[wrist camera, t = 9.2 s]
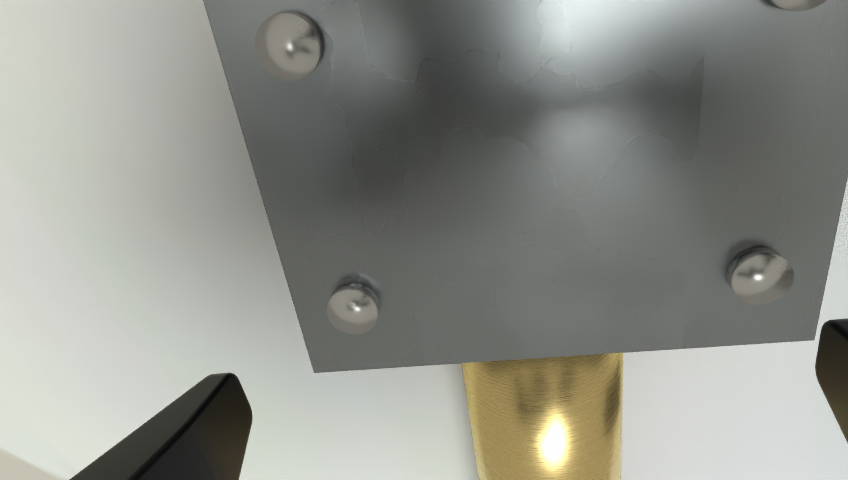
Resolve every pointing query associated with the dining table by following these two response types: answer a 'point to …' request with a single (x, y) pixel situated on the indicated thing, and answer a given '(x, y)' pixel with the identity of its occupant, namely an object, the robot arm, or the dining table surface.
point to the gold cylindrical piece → (547, 417)
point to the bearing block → (543, 171)
